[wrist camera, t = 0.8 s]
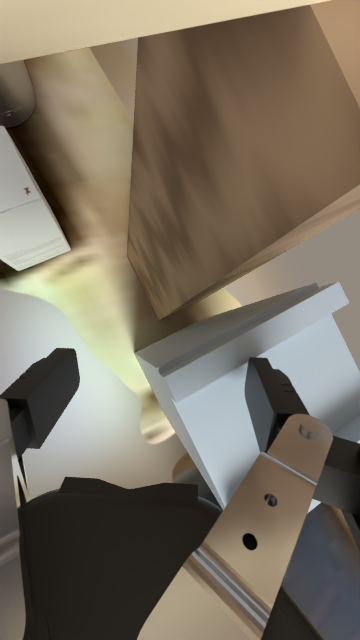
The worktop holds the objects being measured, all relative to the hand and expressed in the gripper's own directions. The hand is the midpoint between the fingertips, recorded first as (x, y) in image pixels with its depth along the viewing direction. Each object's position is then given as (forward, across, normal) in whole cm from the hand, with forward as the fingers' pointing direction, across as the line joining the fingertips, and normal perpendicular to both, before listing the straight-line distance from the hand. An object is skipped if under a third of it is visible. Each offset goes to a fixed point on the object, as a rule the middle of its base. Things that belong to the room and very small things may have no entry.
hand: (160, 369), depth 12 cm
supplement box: (+24, +20, -3) cm, 31 cm away
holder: (+21, 0, +13) cm, 25 cm away
